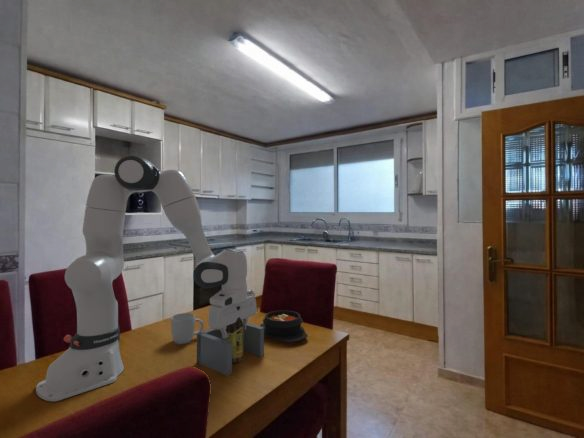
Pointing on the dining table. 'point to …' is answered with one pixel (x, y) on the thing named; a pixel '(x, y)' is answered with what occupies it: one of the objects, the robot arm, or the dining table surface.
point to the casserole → (284, 326)
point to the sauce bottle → (236, 339)
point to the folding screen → (227, 347)
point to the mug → (184, 327)
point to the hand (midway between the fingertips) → (234, 334)
